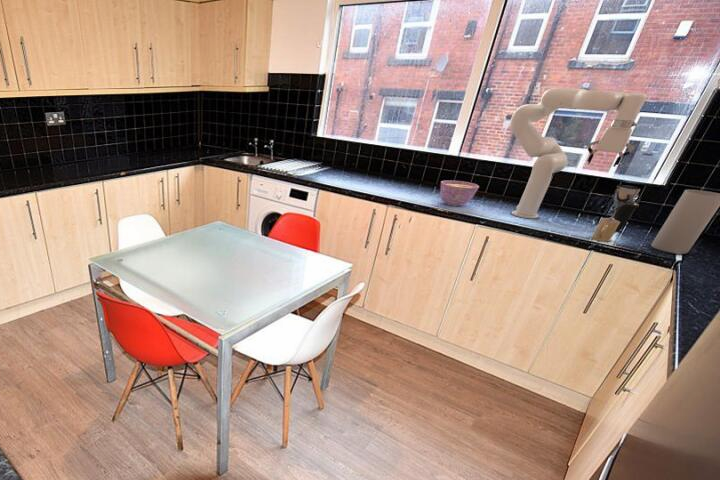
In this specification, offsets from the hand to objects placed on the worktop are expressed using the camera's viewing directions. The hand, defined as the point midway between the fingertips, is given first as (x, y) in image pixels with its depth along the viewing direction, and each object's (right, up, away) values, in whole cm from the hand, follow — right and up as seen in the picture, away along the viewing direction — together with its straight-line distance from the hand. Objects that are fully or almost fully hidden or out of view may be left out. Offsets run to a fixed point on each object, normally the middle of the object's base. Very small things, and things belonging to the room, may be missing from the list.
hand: (601, 164), depth 200 cm
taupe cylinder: (+22, -43, -9) cm, 49 cm away
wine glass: (+1, -28, -3) cm, 28 cm away
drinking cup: (+20, -28, +15) cm, 37 cm away
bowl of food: (-42, -3, +50) cm, 65 cm away
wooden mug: (0, -36, +1) cm, 36 cm away
